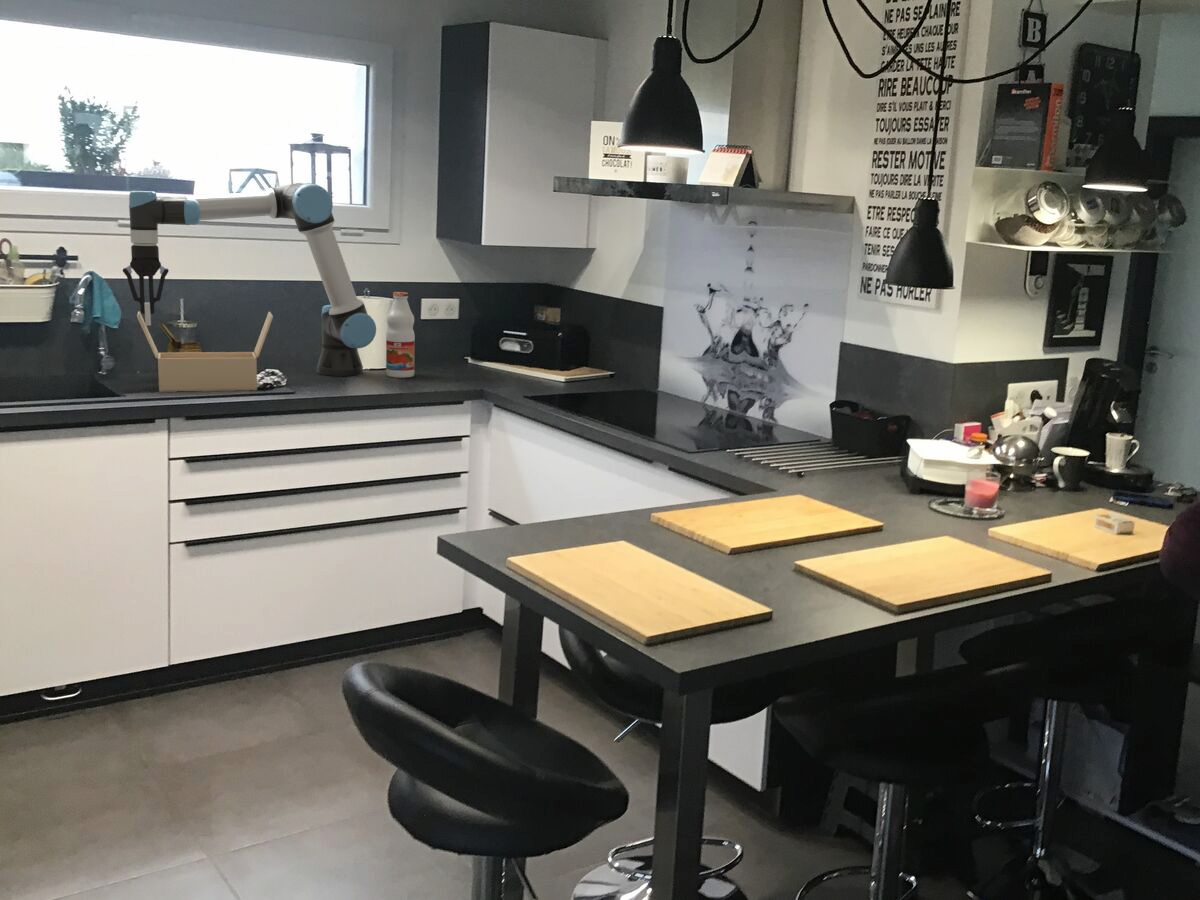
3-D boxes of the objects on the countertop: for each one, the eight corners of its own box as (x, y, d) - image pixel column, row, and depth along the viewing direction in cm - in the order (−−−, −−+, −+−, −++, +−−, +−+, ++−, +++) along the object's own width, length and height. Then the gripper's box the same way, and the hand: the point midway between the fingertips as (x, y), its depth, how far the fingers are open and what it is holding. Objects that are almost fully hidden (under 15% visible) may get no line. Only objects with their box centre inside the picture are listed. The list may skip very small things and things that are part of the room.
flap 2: (254, 351, 369) (255, 351, 369) (256, 356, 357) (258, 357, 358) (268, 311, 368) (270, 312, 368) (271, 316, 356) (273, 316, 356)
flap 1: (157, 357, 348) (155, 358, 348) (158, 351, 359) (156, 352, 359) (138, 315, 344) (136, 316, 344) (139, 311, 355) (138, 311, 355)
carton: (254, 383, 371) (253, 352, 369) (257, 390, 359) (256, 358, 357) (159, 385, 362) (158, 352, 360) (159, 392, 350) (157, 358, 348)
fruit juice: (417, 374, 402) (418, 292, 396) (409, 378, 393) (410, 294, 387) (391, 373, 403) (391, 290, 397) (382, 377, 394) (382, 292, 388)
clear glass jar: (162, 376, 378) (160, 320, 374) (206, 376, 382) (204, 320, 378) (159, 380, 370) (157, 323, 366) (205, 380, 373) (203, 323, 369)
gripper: (168, 244, 352) (171, 323, 357) (121, 243, 347) (125, 323, 352) (168, 245, 345) (171, 326, 350) (120, 244, 340) (124, 326, 345)
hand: (148, 324), depth 351 cm, fingers closed
